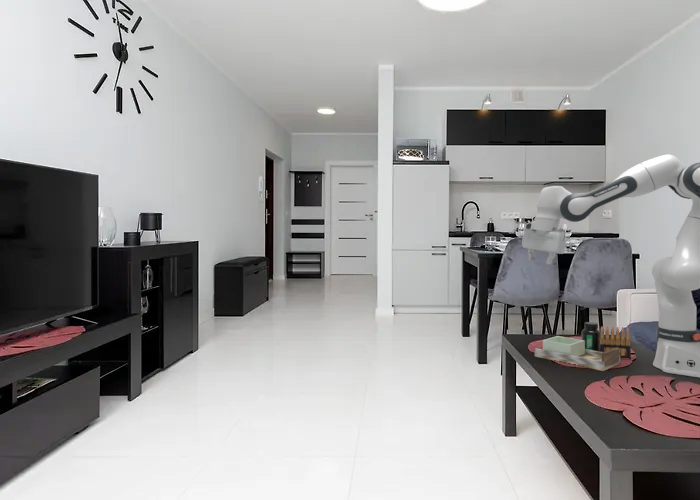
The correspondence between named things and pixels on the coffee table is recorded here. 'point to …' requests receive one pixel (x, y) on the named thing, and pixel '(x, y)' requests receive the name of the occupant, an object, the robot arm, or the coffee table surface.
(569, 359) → the striped flat box
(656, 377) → the coffee table surface
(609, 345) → the ammunition clip
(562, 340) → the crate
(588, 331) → the supplement bottle
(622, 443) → the coffee table surface
